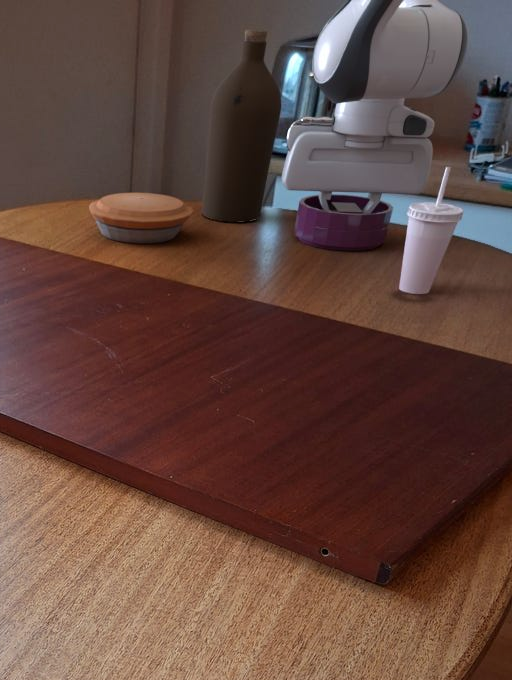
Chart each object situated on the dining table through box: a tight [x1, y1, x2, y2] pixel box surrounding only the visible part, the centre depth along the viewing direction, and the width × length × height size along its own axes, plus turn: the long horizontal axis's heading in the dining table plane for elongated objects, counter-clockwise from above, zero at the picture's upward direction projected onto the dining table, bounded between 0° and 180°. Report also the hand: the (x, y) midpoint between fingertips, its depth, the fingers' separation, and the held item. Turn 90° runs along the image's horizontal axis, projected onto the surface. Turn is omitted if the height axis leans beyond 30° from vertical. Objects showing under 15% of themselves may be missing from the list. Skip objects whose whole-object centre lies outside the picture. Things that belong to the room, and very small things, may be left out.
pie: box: [88, 192, 194, 245], centre depth 131 cm, size 15×16×5 cm
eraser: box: [330, 202, 363, 214], centre depth 130 cm, size 6×4×4 cm, turn 175°
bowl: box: [293, 193, 394, 252], centre depth 130 cm, size 13×13×5 cm
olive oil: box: [201, 29, 282, 224], centre depth 135 cm, size 11×11×25 cm
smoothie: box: [398, 166, 464, 295], centre depth 108 cm, size 6×6×14 cm
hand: (343, 224), depth 130 cm, fingers closed on eraser, 3 cm apart
